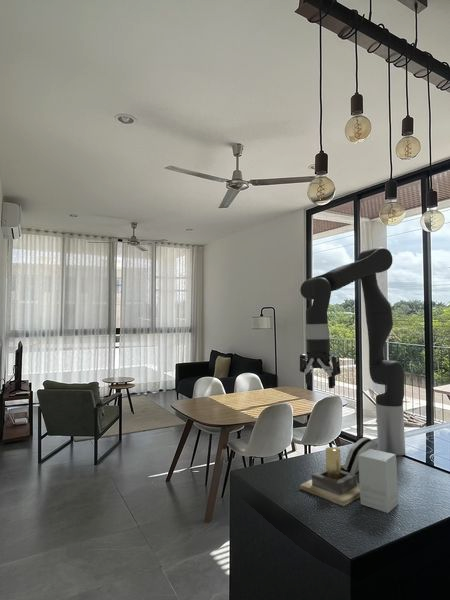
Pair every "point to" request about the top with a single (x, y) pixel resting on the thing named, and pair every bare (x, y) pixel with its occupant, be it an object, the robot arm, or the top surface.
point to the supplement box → (378, 480)
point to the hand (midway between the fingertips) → (320, 386)
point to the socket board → (332, 496)
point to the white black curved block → (353, 454)
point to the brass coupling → (333, 463)
